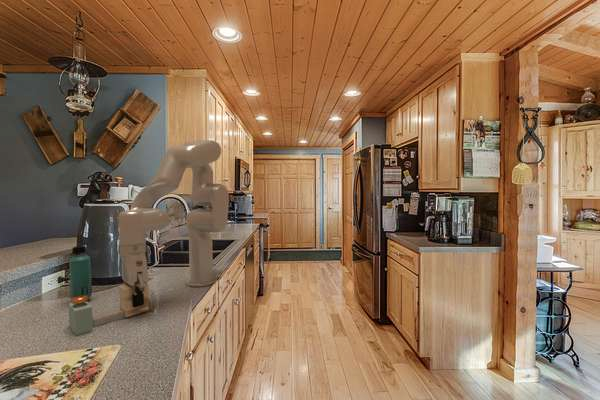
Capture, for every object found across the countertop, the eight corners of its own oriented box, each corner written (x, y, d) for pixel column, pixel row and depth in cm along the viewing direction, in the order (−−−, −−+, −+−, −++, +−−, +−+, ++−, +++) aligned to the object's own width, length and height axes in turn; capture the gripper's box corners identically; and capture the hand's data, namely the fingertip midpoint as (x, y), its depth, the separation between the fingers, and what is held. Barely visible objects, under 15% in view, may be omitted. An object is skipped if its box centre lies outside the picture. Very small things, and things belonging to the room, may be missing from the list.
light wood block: (142, 306, 103) (142, 280, 103) (149, 310, 100) (148, 284, 99) (120, 312, 98) (119, 286, 97) (125, 317, 94) (125, 289, 94)
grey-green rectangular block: (85, 322, 92) (84, 299, 92) (93, 330, 87) (92, 306, 86) (69, 326, 89) (68, 303, 89) (76, 335, 84) (75, 311, 83)
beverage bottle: (81, 305, 105) (78, 248, 104) (65, 304, 106) (62, 247, 105) (97, 298, 111) (95, 244, 110) (82, 297, 112) (80, 244, 112)
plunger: (86, 314, 90) (85, 294, 90) (89, 318, 88) (88, 297, 88) (71, 318, 88) (70, 297, 87) (74, 322, 85) (73, 301, 85)
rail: (147, 306, 104) (146, 297, 104) (152, 310, 101) (152, 300, 101) (91, 322, 92) (90, 312, 91) (95, 327, 89) (94, 316, 88)
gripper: (156, 250, 95) (157, 307, 96) (135, 243, 106) (136, 294, 107) (130, 254, 89) (131, 314, 90) (111, 246, 101) (112, 300, 102)
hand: (134, 302), depth 99 cm, fingers open, 5 cm apart
